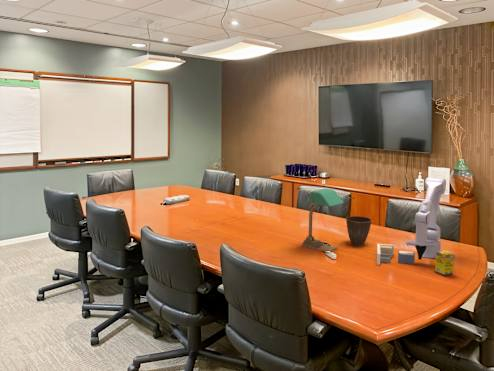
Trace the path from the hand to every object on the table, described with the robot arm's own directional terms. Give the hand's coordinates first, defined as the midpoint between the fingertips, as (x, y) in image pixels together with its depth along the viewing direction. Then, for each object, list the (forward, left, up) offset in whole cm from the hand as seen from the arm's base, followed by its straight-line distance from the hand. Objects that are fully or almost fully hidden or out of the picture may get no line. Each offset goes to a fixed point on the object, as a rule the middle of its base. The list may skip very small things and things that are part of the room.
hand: (419, 259), depth 228 cm
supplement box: (-10, +12, -3) cm, 16 cm away
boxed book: (+7, 0, -2) cm, 7 cm away
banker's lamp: (+54, -12, -3) cm, 55 cm away
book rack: (+17, -1, -2) cm, 17 cm away
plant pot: (+33, -26, -3) cm, 42 cm away
